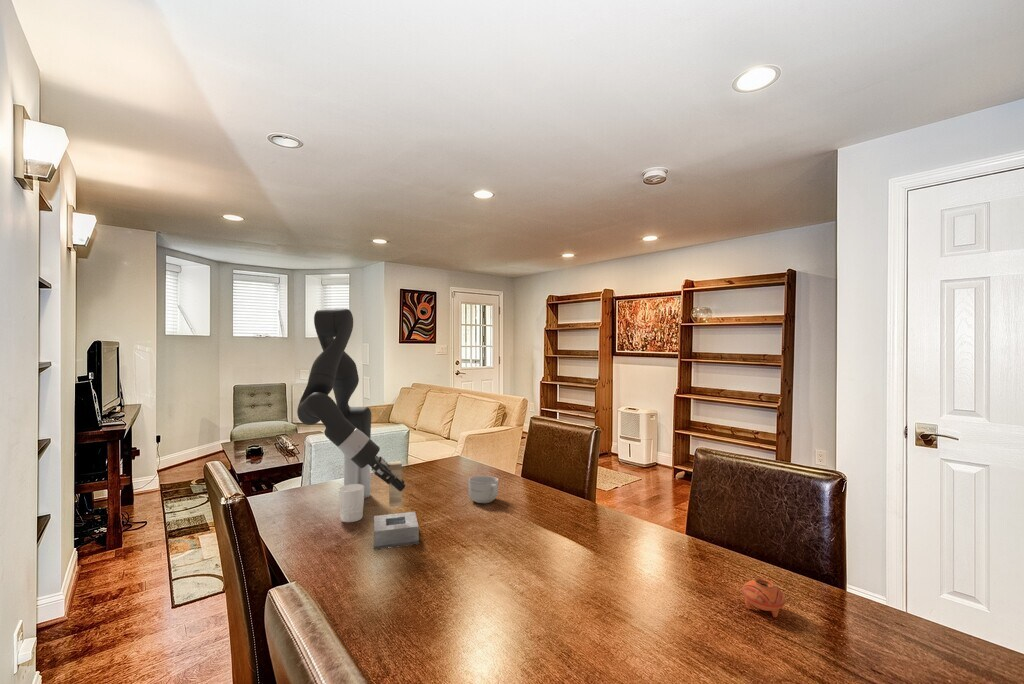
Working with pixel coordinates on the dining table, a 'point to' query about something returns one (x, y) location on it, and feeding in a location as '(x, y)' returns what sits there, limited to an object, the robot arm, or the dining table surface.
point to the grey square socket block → (395, 530)
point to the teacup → (483, 488)
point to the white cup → (351, 502)
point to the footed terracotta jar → (763, 595)
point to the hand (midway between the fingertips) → (402, 486)
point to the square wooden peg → (394, 493)
